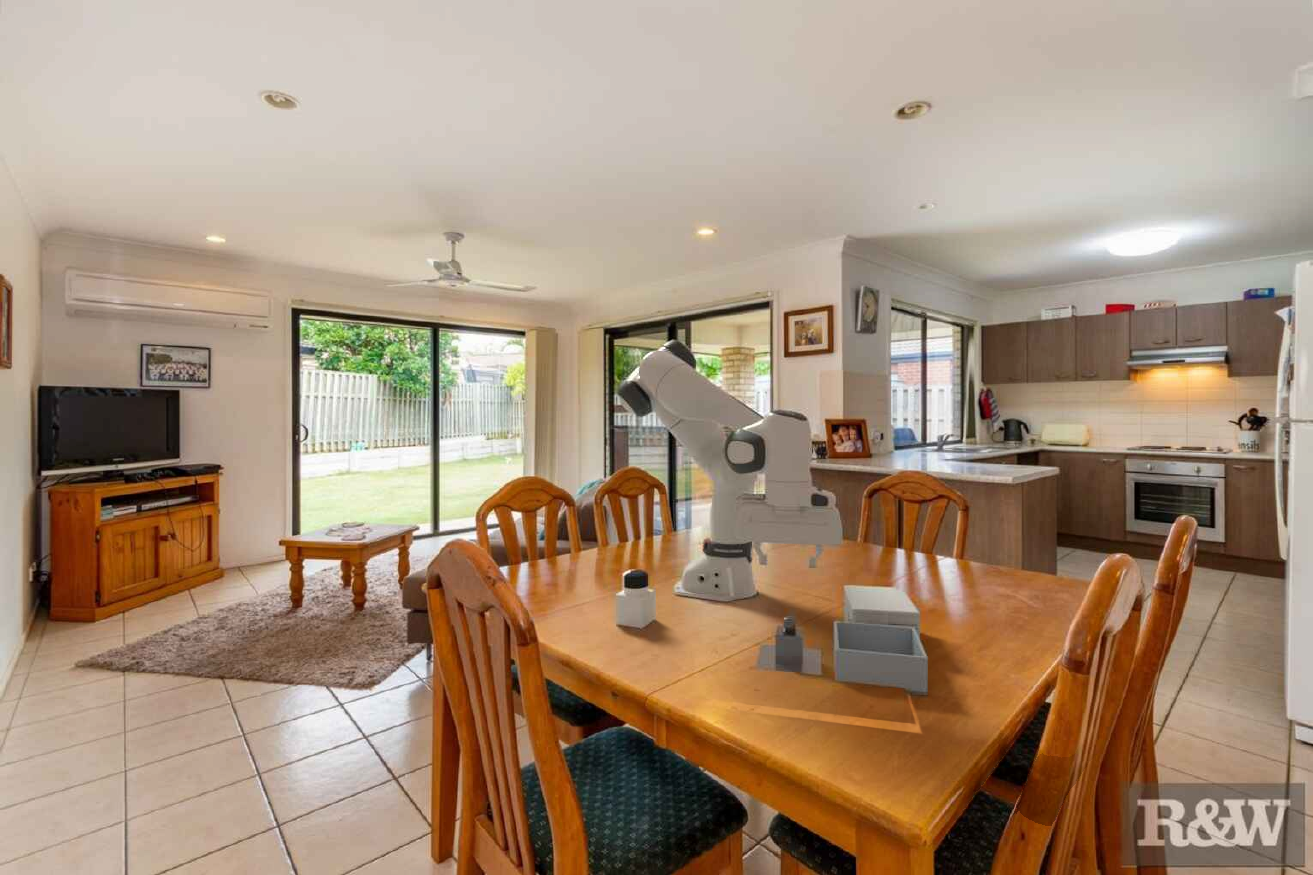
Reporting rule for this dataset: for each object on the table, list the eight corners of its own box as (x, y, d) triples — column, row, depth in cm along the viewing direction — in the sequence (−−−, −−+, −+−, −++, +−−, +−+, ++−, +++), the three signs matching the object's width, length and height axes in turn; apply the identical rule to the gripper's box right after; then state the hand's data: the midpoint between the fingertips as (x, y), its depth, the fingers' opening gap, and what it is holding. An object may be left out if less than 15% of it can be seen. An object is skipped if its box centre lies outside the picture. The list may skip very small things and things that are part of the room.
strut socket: (775, 662, 116) (775, 621, 115) (777, 652, 120) (777, 613, 120) (802, 665, 114) (802, 623, 114) (803, 655, 119) (803, 615, 119)
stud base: (755, 673, 113) (755, 650, 113) (761, 649, 125) (761, 628, 125) (821, 680, 110) (821, 656, 110) (821, 654, 122) (821, 633, 121)
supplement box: (842, 624, 139) (843, 584, 139) (903, 628, 137) (903, 587, 136) (851, 653, 123) (851, 607, 123) (920, 658, 120) (921, 611, 120)
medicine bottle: (655, 619, 143) (655, 569, 143) (642, 629, 137) (642, 577, 136) (629, 615, 146) (628, 566, 146) (615, 624, 140) (614, 573, 139)
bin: (835, 685, 108) (835, 649, 108) (833, 653, 122) (833, 620, 122) (927, 695, 104) (927, 658, 104) (914, 660, 118) (914, 627, 118)
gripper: (731, 495, 116) (731, 566, 116) (843, 498, 110) (842, 573, 111) (736, 491, 122) (736, 558, 123) (842, 494, 116) (841, 565, 117)
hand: (787, 566), depth 117 cm, fingers open, 8 cm apart
